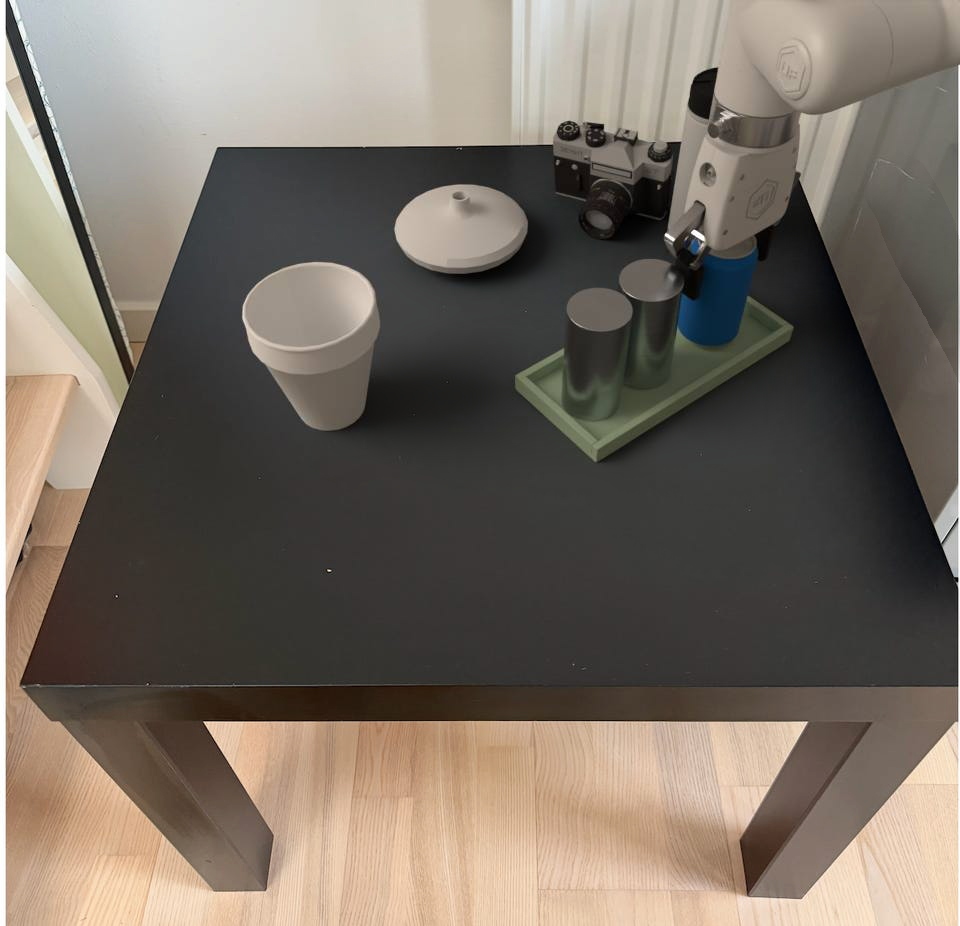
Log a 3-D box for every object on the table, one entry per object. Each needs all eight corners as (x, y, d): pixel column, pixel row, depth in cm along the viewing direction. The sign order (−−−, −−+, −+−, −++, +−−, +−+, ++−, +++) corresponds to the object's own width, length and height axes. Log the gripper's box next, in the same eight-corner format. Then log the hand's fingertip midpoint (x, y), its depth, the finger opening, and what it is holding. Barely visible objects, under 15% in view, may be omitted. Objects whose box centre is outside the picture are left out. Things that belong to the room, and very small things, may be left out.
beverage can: (688, 304, 101) (706, 212, 91) (745, 322, 98) (769, 230, 89) (667, 340, 97) (684, 248, 88) (725, 359, 95) (749, 267, 86)
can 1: (632, 403, 91) (646, 312, 82) (587, 430, 89) (596, 340, 80) (593, 370, 94) (602, 279, 85) (548, 396, 92) (553, 305, 83)
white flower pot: (300, 470, 88) (272, 369, 77) (253, 392, 94) (221, 289, 84) (413, 420, 91) (400, 317, 81) (359, 348, 98) (341, 245, 88)
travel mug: (726, 252, 107) (762, 90, 92) (669, 252, 107) (696, 91, 92) (718, 220, 111) (751, 60, 96) (664, 220, 111) (688, 61, 96)
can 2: (683, 370, 94) (697, 281, 84) (640, 398, 92) (650, 310, 82) (642, 339, 97) (652, 250, 87) (600, 366, 95) (605, 277, 85)
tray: (789, 340, 97) (794, 326, 96) (596, 463, 87) (597, 449, 86) (704, 281, 104) (707, 267, 102) (514, 389, 94) (514, 375, 92)
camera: (533, 229, 113) (528, 167, 104) (566, 170, 117) (564, 106, 109) (645, 259, 109) (649, 197, 100) (675, 197, 113) (682, 132, 104)
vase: (373, 236, 111) (366, 186, 105) (480, 193, 116) (479, 142, 111) (441, 306, 102) (437, 255, 97) (554, 255, 107) (556, 204, 102)
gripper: (715, 170, 73) (684, 328, 87) (854, 99, 80) (805, 257, 93) (651, 131, 77) (630, 289, 91) (788, 67, 84) (750, 223, 97)
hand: (719, 273), depth 92 cm, fingers open, 9 cm apart
